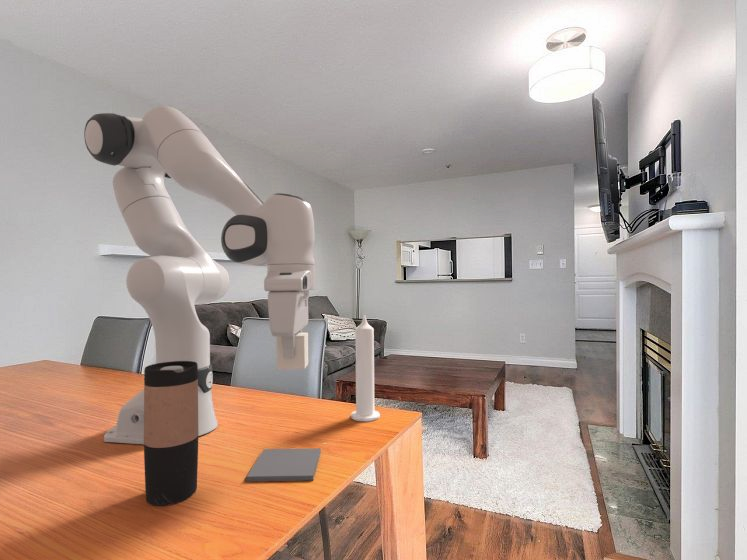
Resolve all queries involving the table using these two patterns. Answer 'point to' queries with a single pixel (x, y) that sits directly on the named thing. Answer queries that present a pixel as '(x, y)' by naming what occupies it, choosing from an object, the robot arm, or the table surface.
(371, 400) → the candle
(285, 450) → the slate plate
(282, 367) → the cream block
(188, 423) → the travel mug
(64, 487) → the table surface
